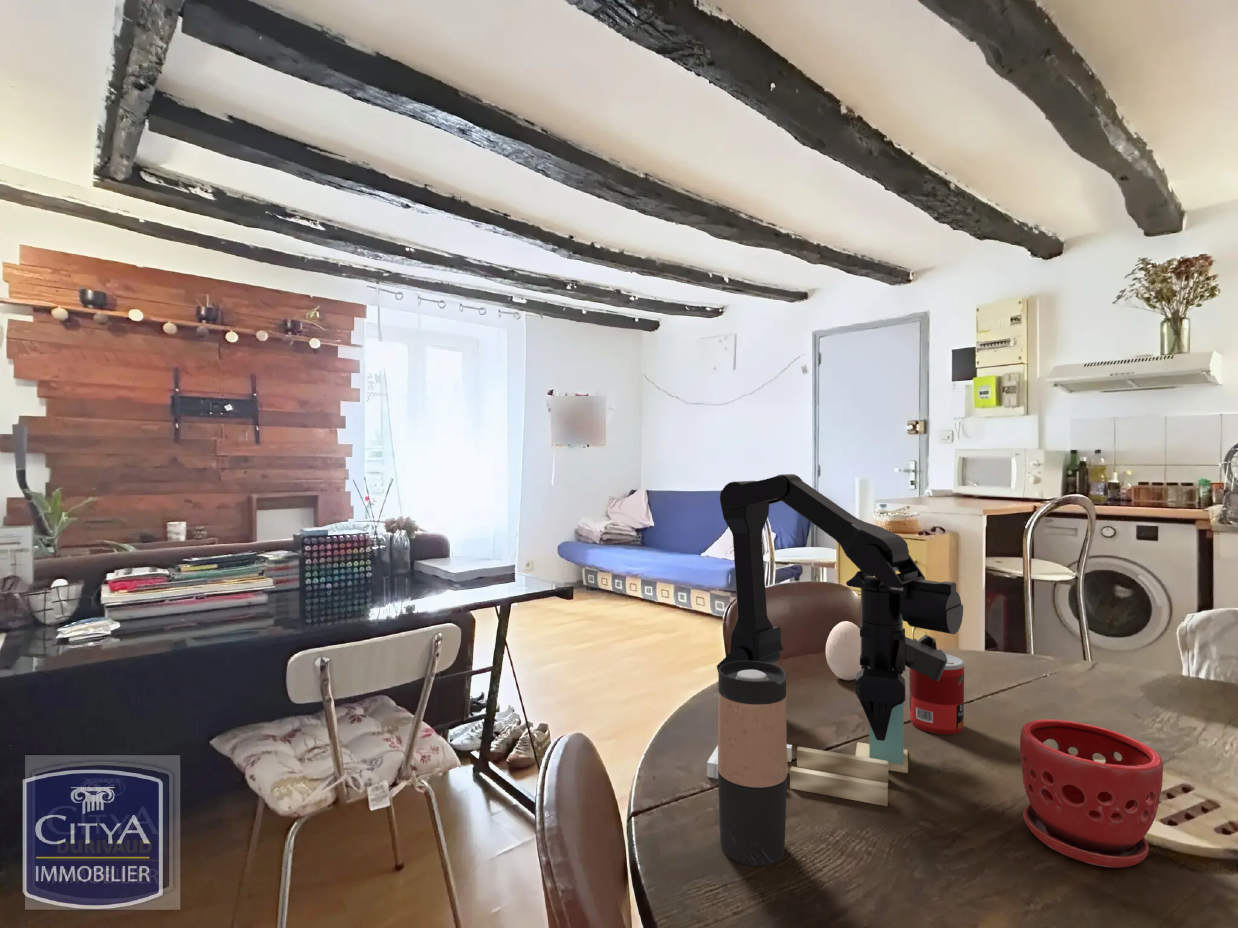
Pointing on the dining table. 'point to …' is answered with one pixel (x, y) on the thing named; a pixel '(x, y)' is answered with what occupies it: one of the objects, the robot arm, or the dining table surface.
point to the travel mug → (752, 761)
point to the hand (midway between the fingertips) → (881, 727)
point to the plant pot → (1090, 791)
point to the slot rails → (840, 783)
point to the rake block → (889, 739)
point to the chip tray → (713, 762)
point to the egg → (844, 650)
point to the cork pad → (863, 751)
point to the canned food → (938, 699)
